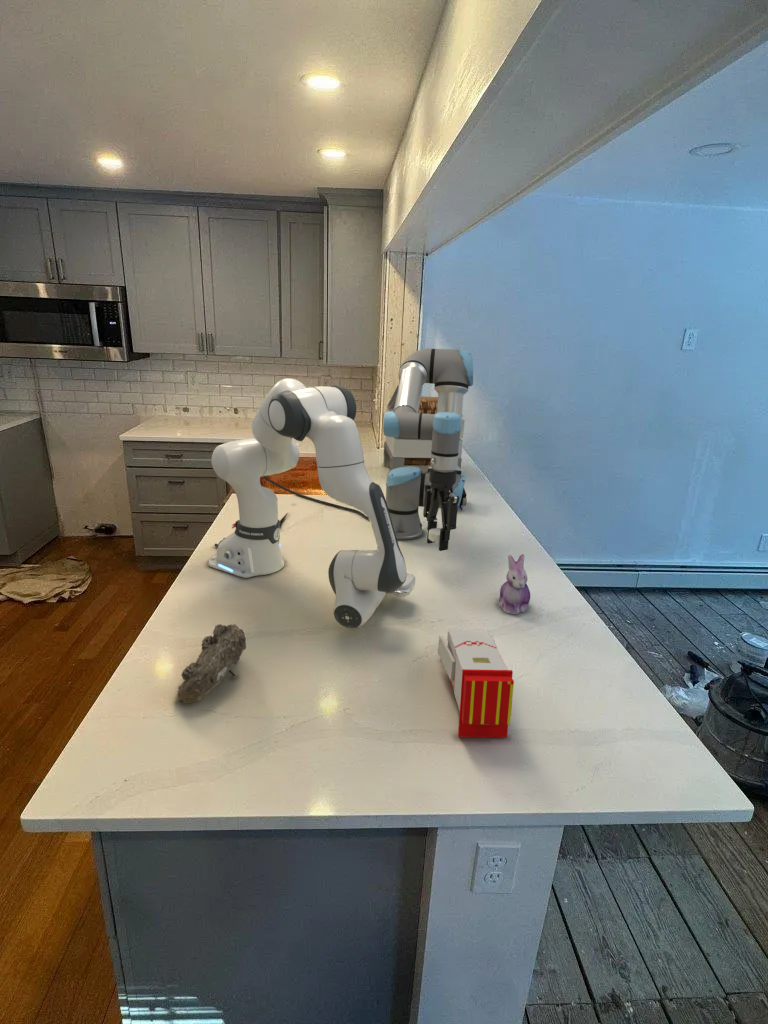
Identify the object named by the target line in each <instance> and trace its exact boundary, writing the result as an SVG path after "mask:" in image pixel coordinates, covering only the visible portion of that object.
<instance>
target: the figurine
mask: <svg viewBox="0 0 768 1024" xmlns="http://www.w3.org/2000/svg"><path fill="white" fill-rule="evenodd" d="M507 561H508V562H507V563H508V571H507V573H506V576H505V578H506V581H505V582H504V583H503V584H501V586H500V588H499V589H500V590H499V598H498V605H499V607H500V608H501V609H502V611H503V612H504V613H507V614H511V615H518V614H519V613H525V612H526V611H527V609H528V607H529V604H530V601H531V591H530V588H529V585H528V584H527V582H528V575H527V571H526V570H525V568H524V567H525V566H524V563H525V554H524V553H521V554H520V555H519V557H518V558H517V560H515V559H514V557H513V556H512V555H511V554H509V555H508V556H507Z"/></svg>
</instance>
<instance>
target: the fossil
mask: <svg viewBox="0 0 768 1024" xmlns="http://www.w3.org/2000/svg"><path fill="white" fill-rule="evenodd" d="M246 640H247V637H246V633H245V632H244V630H243V629H241V628H240V627H239V626H238V625H237V624H235V623H233V624H231V623H230V624H227V625H223V624H221V623H220V624H216V625H215V627H214V629H213V630H212V635H208V636H205V637H204V638H203V639H202V641H201V650H202V651H201V652H200V653H199V655H198V657H197V660H196V661H193V662H190V664H189V665H187V666H186V667H185V668H184V669H183V670H182V672H181V674H180V675H181V677H182V680H183V682H182V683H181V684H180V685H179V686H178V687H177V689H178V690H177V691H176V692H177V698H178V699H177V700H178V701H179V702H180V701H181V702H183V703H185V704H187V703H192V702H196V701H197V702H200V701H201V700H202V699H203V698H204V697H205V696H206V695H207V694H209V693H210V692H211V691H212V690H213V689H214V688H215V687H216V686H217V685H218V684H219V683H220V682H222V680H223V679H224V677H225V675H227V674H228V673H229V674H230V675H231V676H232V677H236V674H235V673H234V672H233V671H232V670H231V669H232V667H233V666H234V665H236V664H237V663H238V661H239V660H240V659H241V656H242V654H243V652H244V650H246V649H247V641H246Z"/></svg>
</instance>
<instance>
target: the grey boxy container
mask: <svg viewBox="0 0 768 1024" xmlns="http://www.w3.org/2000/svg"><path fill="white" fill-rule="evenodd" d="M398 388H399V384H398V385H397V386H396V388H395V390H394V392H393V394H392V395H391V398H390V400H389V402H388V404H387V405H386V412H388V411H393V410H394V405H395V401H396V396H397V392H398ZM437 404H438V396H421V399H420V405H419V412H418V413H423V414H436V413H437ZM464 429H465V419H464V418H462V419H461V431H460V443H459V455H458V467H459V468H460V469H461V470H462V461H463V460H462V453H463V442H464V441H463V440H462V439H463V438H464V431H465V430H464ZM431 450H432V440H421V439H406V438H393V437H386V436H385V438H384V442H383V466H384V467H388V468H389V472H390V471H391V470H393V469H396V468H399V467H405V466H406V467H417V466H418V467H430V464H431Z"/></svg>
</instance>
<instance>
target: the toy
mask: <svg viewBox="0 0 768 1024" xmlns="http://www.w3.org/2000/svg"><path fill="white" fill-rule="evenodd" d="M446 640H447V643H446V641H445V639H444V636H443V635H442V634H439V637H438V646H437V656H438V657H439V659H440V661H441V663H442V666H443V668H444V670H445V672H446V674H447V677H448V679H449V681H450V684H451V687H452V690H453V693H454V697H455V701H456V705H457V708H458V711H459V714H458V715H459V716H458V730H457V731H458V732H457V737H458V738H508V731H509V726H510V725H511V717H512V707H513V697H514V696H513V695H514V684H515V680H514V679H513V673H514V671H513V670H512V669H508V667H507V665H506V662H505V661H504V659H503V658H502V655H501V653H500V651H499V649H498V647H497V643H496V639H495V637H494V635H493V634H491V632H490V631H489V629H467V628H466V629H465V628H463V629H461V628H460V629H459V628H448V630H447V639H446Z"/></svg>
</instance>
